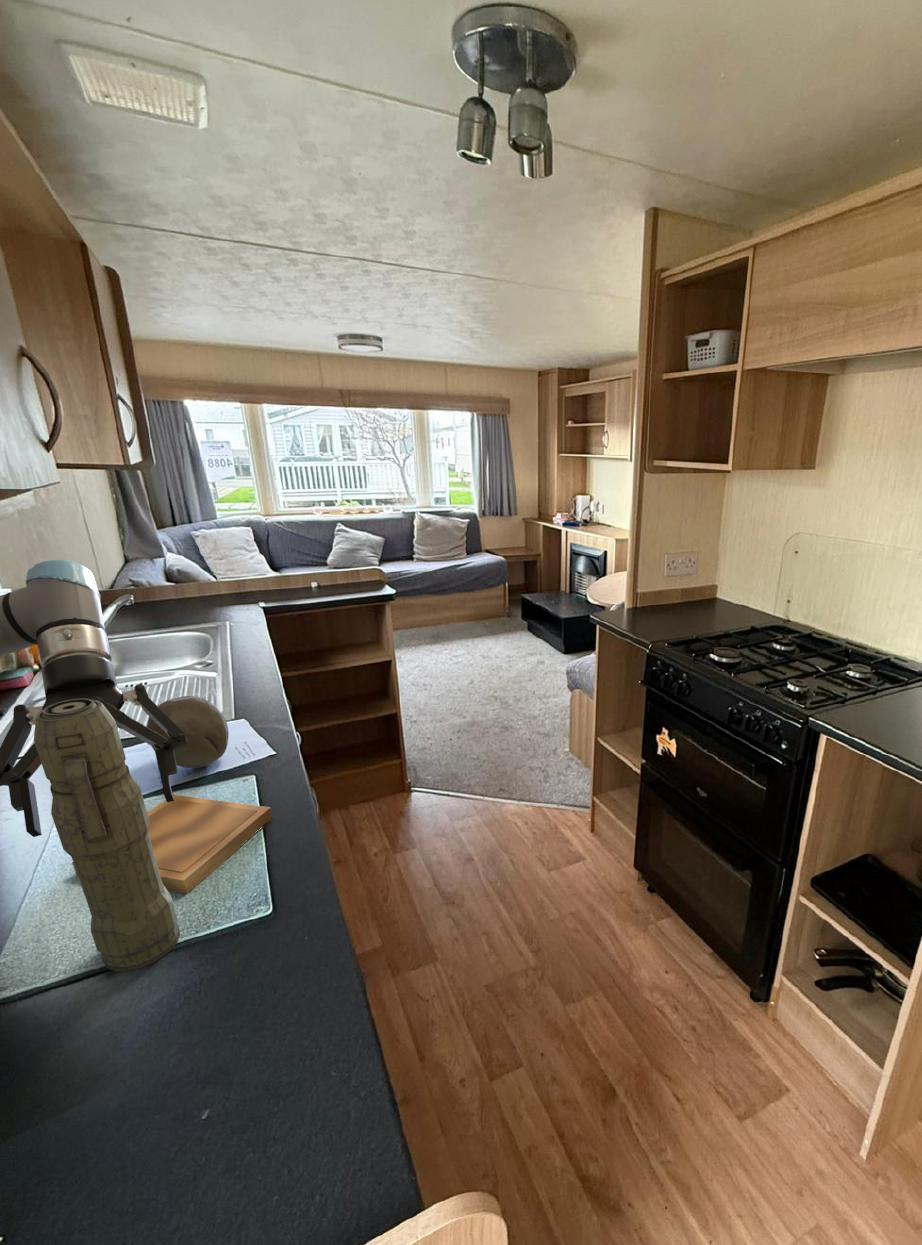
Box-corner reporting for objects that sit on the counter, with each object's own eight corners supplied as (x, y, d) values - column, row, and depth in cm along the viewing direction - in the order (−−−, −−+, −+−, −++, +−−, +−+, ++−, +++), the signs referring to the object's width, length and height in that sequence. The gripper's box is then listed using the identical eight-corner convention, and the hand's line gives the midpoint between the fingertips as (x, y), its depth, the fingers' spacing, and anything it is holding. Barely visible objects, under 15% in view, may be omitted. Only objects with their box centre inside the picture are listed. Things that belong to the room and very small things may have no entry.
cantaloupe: (234, 744, 137) (221, 682, 131) (234, 773, 125) (219, 705, 119) (160, 757, 131) (143, 693, 125) (152, 789, 119) (133, 719, 113)
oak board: (76, 875, 95) (71, 861, 94) (176, 806, 113) (173, 794, 112) (187, 893, 91) (183, 879, 90) (272, 819, 110) (270, 806, 109)
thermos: (104, 992, 75) (14, 735, 62) (100, 934, 84) (20, 699, 71) (187, 958, 80) (119, 714, 67) (175, 907, 89) (112, 683, 76)
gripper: (-62, 671, 72) (-44, 842, 66) (182, 636, 85) (217, 777, 79) (-37, 698, 78) (-18, 857, 72) (188, 662, 91) (220, 794, 85)
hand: (105, 815), depth 75 cm, fingers open, 13 cm apart
